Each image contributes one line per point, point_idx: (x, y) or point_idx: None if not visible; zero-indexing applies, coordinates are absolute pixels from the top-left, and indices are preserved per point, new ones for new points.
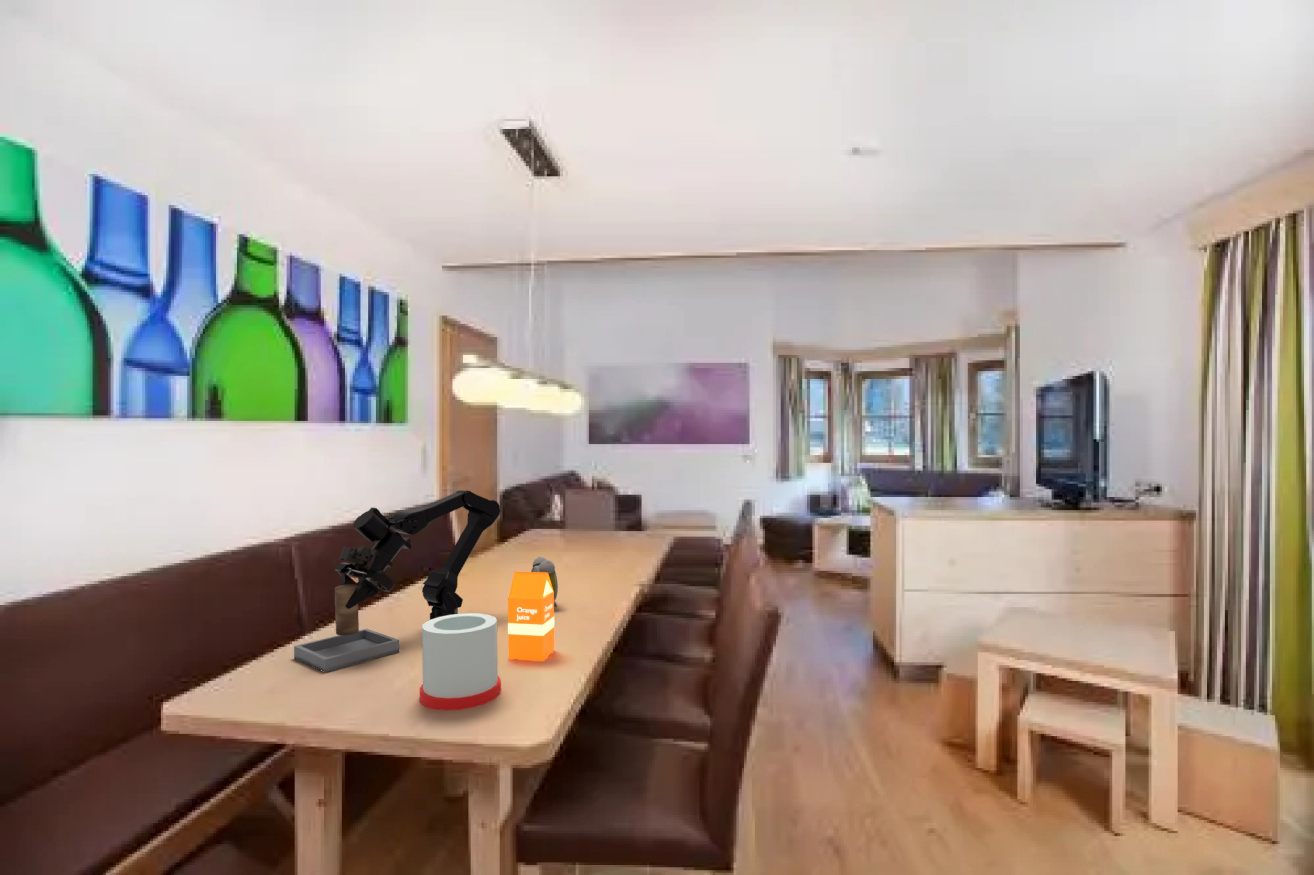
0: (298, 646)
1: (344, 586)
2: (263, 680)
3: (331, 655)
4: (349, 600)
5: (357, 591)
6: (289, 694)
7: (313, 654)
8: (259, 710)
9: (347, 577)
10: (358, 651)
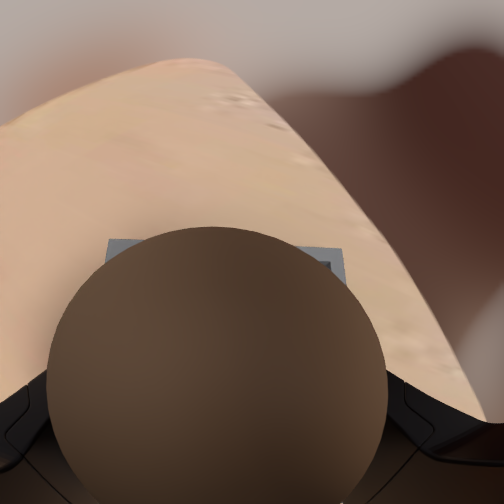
0: (326, 254)
1: (268, 392)
2: (208, 152)
3: None
4: None
5: (2, 402)
6: (78, 154)
7: None
8: (70, 110)
9: (482, 498)
10: None
